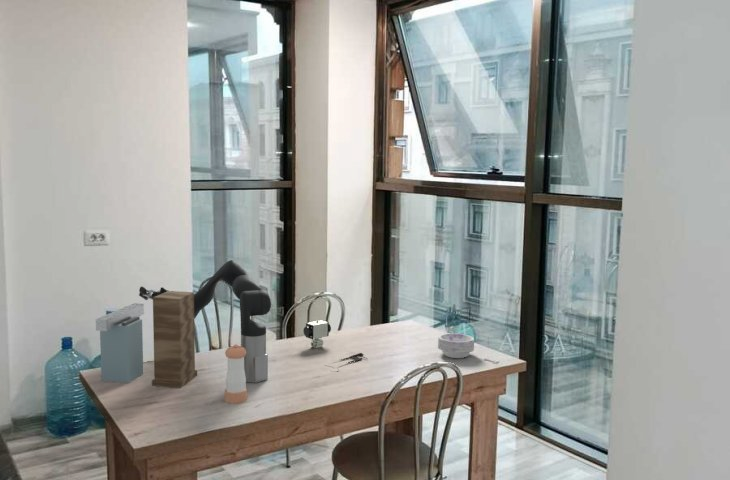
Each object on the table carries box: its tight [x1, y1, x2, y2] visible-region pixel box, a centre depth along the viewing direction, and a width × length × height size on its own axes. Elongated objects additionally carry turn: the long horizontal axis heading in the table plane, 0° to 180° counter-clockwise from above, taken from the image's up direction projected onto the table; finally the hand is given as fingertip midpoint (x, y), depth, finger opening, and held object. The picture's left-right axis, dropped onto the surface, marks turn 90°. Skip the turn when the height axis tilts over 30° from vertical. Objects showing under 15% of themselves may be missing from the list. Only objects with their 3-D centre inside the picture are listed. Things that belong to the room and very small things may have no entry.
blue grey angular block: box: [99, 316, 144, 384], centre depth 244 cm, size 10×11×22 cm
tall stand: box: [151, 290, 198, 389], centre depth 241 cm, size 14×11×32 cm
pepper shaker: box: [224, 344, 248, 404], centre depth 224 cm, size 7×7×19 cm
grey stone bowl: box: [437, 333, 475, 359], centre depth 281 cm, size 15×15×8 cm
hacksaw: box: [340, 352, 367, 364], centre depth 268 cm, size 24×10×2 cm, turn 134°
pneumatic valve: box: [303, 319, 332, 349], centre depth 289 cm, size 6×12×12 cm, turn 130°
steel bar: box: [95, 302, 145, 332], centre depth 243 cm, size 26×4×4 cm, turn 170°
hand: (151, 289), depth 261 cm, fingers open, 8 cm apart
